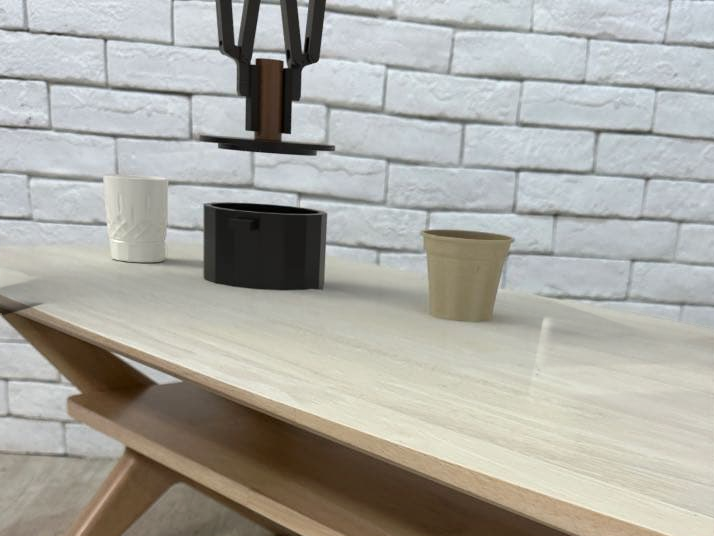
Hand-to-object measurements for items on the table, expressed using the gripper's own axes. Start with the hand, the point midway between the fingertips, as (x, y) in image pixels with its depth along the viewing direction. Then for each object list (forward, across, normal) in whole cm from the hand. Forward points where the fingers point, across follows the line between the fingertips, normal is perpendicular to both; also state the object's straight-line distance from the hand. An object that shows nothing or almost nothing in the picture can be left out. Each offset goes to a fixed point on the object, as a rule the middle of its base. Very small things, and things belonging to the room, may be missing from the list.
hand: (268, 131), depth 109 cm
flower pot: (+17, +15, -22) cm, 31 cm away
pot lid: (+1, 0, 0) cm, 1 cm away
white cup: (+17, -12, +20) cm, 28 cm away
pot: (+16, 0, 0) cm, 16 cm away
